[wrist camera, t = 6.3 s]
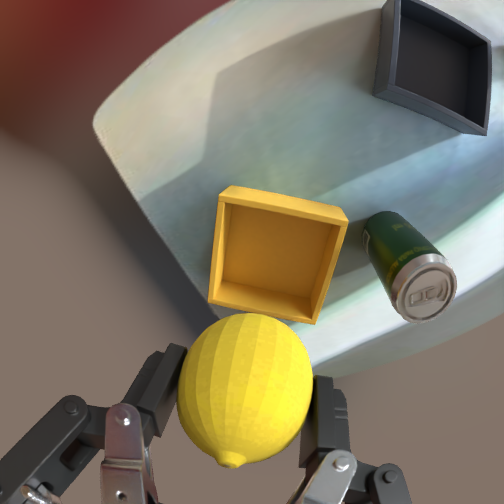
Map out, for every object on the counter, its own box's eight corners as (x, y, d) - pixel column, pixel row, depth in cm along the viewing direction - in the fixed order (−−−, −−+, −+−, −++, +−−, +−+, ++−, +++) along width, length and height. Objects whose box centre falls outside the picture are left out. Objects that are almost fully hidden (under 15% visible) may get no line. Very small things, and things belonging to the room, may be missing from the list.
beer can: (364, 261, 28) (395, 334, 18) (355, 215, 27) (391, 271, 16) (408, 250, 27) (456, 314, 16) (403, 204, 25) (461, 251, 14)
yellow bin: (230, 184, 27) (218, 194, 23) (340, 207, 26) (349, 221, 22) (218, 280, 32) (207, 302, 28) (313, 300, 31) (315, 325, 27)
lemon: (315, 283, 13) (324, 439, 6) (306, 364, 15) (300, 492, 8) (201, 278, 14) (124, 409, 6) (213, 357, 16) (171, 473, 9)
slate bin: (381, 7, 17) (394, -11, 12) (469, 48, 16) (491, 40, 12) (372, 96, 21) (386, 89, 17) (462, 133, 21) (486, 136, 16)
